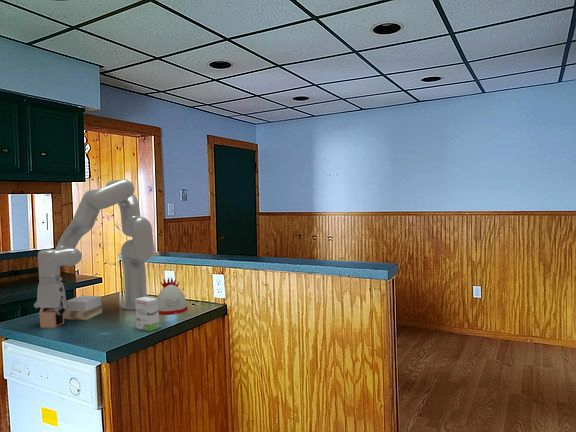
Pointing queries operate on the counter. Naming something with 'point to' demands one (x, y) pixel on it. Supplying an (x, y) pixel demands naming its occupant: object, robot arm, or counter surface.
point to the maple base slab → (82, 313)
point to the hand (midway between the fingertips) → (52, 323)
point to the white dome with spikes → (171, 299)
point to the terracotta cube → (49, 319)
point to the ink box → (147, 313)
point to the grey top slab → (83, 303)
